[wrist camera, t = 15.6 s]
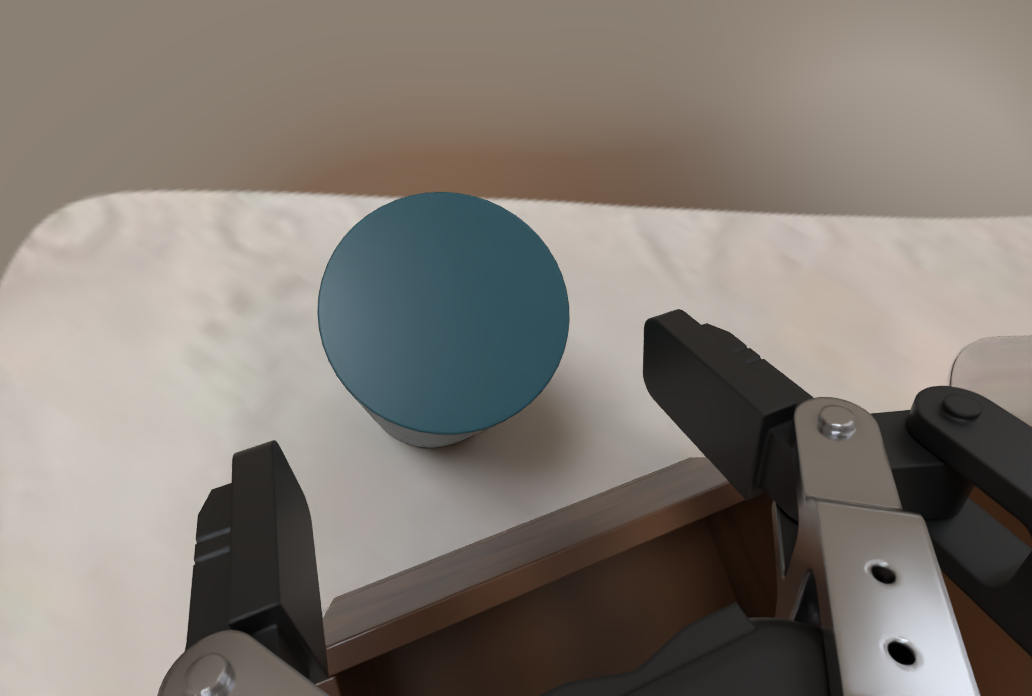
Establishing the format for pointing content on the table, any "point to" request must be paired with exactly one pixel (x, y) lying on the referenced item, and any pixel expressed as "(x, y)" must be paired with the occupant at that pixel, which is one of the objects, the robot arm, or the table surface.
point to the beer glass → (998, 372)
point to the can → (442, 316)
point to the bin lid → (992, 627)
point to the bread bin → (559, 593)
